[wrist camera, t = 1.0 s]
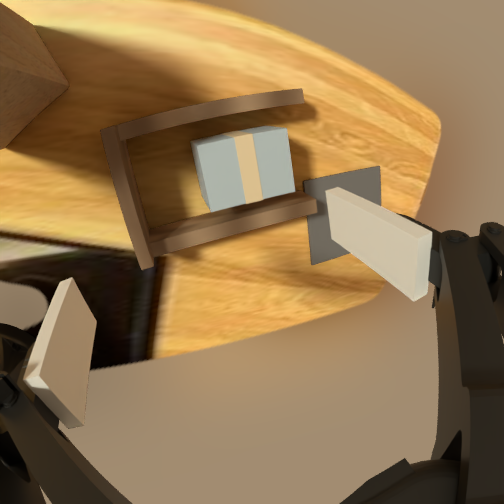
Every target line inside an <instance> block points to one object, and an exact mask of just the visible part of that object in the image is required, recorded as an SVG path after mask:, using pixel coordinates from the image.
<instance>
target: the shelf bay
mask: <svg viewBox="0 0 504 504" xmlns="http://www.w3.org/2000/svg"><path fill="white" fill-rule="evenodd" d="M302 103H304V97H303V90H302V89H292V90H282V91H274V92H266V93H259V94H252V95H245V96H239V97H233V98H227V99H222V100H216V101H211V102H206V103H201V104H196V105H192V106H187V107H183V108H178V109H174V110H170V111H166V112H162V113H158V114H154V115H150V116H147V117H143V118H139V119H136V120H132V121H129V122H126V123H122V124H119V125H115V126H111V127H108V128H105V129H102V130H100V132H101V136H102V141H103V145H104V149H105V153H106V157H107V161H108V164H109V168H110V172H111V176H112V179H113V183H114V186H115V190H116V193H117V197H118V200H119V204H120V207H121V210H122V213H123V217H124V220H125V223H126V226H127V229H128V232H129V235H130V238H131V241H132V244H133V247H134V250H135V253H136V256H137V259H138V262H139V264H140V267H141V270H143V269H146V268H150V267H153V266H154V257H156V256H160V255H163V254H167V253H170V252H174V251H177V250H181V249H184V248H188V247H192V246H195V245H199V244H202V243H206V242H210V241H213V240H217V239H220V238H224V237H228V236H231V235H235V234H239V233H242V232H246V231H250V230H253V229H257V228H261V227H265V226H268V225H272V224H276V223H280V222H283V221H287V220H291V219H295V218H299V217H302V216H306V215H310V214H314V213H317V204H316V199H315V198H313V197H311V196H309V195H308V194H306V193H304V192H302V191H300V190H299V191H295V192H291V193H287V194H283V195H278V196H274V197H270V198H266V199H263V200H261V201H257V202H253V203H249V204H242V205H238V206H234V207H230V208H226V209H222V210H218V211H215V212H210V213H207V214H203V215H199V216H195V217H192V218H188V219H184V220H181V221H177V222H174V223H170V224H167V225H163V226H160V227H156V228H153V229H149V226H148V222H147V219H146V216H145V212H144V209H143V205H142V202H141V198H140V195H139V191H138V187H137V184H136V180H135V176H134V172H133V168H132V165H131V161H130V157H129V153H128V148H127V144H126V139H130V138H133V137H136V136H140V135H143V134H147V133H151V132H154V131H158V130H162V129H166V128H170V127H174V126H178V125H182V124H186V123H190V122H195V121H199V120H204V119H209V118H214V117H218V116H224V115H229V114H234V113H240V112H245V111H251V110H258V109H264V108H271V107H278V106H285V105H293V104H302Z"/></svg>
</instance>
